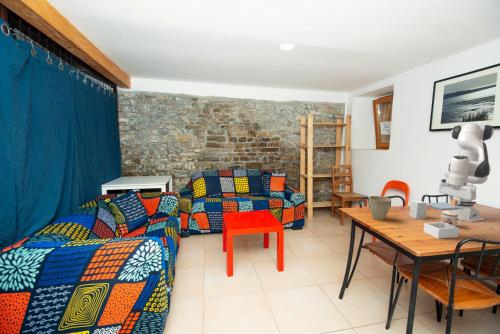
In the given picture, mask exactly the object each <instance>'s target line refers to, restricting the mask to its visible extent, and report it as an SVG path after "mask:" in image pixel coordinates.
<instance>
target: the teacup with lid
mask: <svg viewBox="0 0 500 334" xmlns="http://www.w3.org/2000/svg"><path fill="white" fill-rule="evenodd" d="M459 219H460V222H459V223H458V222H457V221H458V220H459ZM440 222H444V223H447V224H450V225H452V226H455V227H457V226H460V225H462V224H463V220H462V219H461V218H458V214H457V213H454V212H453V211H452V210H441V212H440Z"/></svg>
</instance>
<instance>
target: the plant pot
mask: <svg viewBox="0 0 500 334" xmlns="http://www.w3.org/2000/svg"><path fill="white" fill-rule="evenodd" d="M391 203H392V199H391V197H390V198H389V197H386V196H382V195H369V196H368V204H369V205H368V206H369V209H370V214H371V216H372V218H373V220H376V221H383V220H385V219H386V217H387V214H388V212H389V209H390V207H391Z"/></svg>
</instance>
